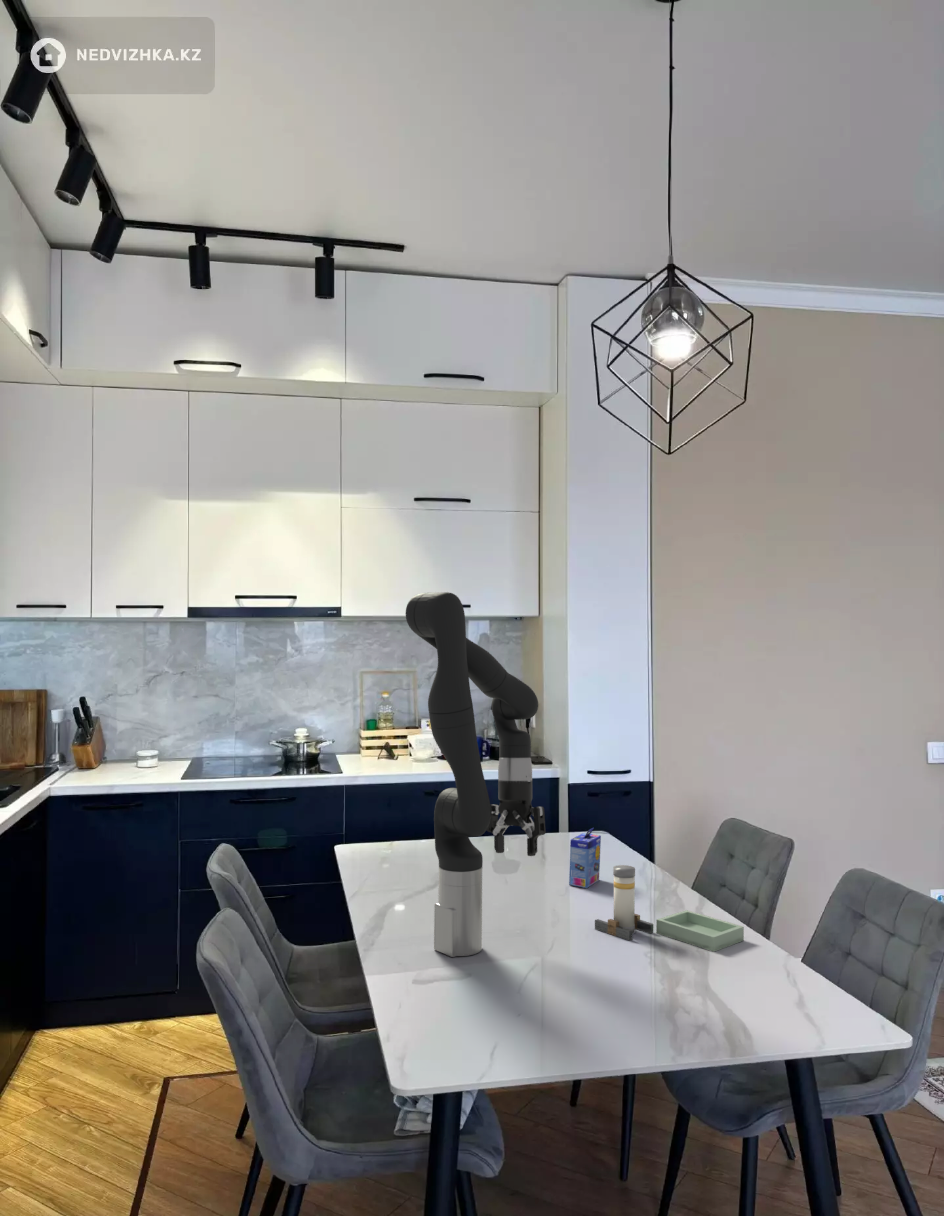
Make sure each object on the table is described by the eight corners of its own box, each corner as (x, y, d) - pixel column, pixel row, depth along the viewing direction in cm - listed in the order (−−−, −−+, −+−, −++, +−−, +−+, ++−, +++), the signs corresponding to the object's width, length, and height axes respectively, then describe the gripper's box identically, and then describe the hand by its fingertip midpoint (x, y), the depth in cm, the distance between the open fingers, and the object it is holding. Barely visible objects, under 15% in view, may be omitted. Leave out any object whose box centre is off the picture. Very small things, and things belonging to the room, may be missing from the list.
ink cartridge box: (588, 889, 237) (588, 833, 237) (568, 886, 239) (568, 830, 240) (601, 880, 245) (601, 826, 246) (581, 877, 248) (582, 823, 248)
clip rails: (629, 941, 197) (629, 927, 197) (594, 929, 205) (594, 915, 205) (653, 933, 203) (653, 919, 203) (618, 921, 210) (618, 908, 210)
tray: (713, 951, 191) (713, 937, 191) (656, 933, 202) (656, 919, 203) (743, 940, 198) (743, 926, 198) (686, 923, 210) (686, 910, 210)
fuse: (625, 936, 200) (625, 872, 201) (608, 930, 204) (608, 867, 204) (639, 931, 203) (639, 868, 204) (622, 926, 207) (623, 864, 207)
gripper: (479, 778, 203) (479, 853, 200) (531, 779, 194) (532, 858, 191) (499, 777, 209) (500, 850, 206) (551, 779, 200) (552, 855, 197)
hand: (515, 854), depth 199 cm, fingers open, 8 cm apart
